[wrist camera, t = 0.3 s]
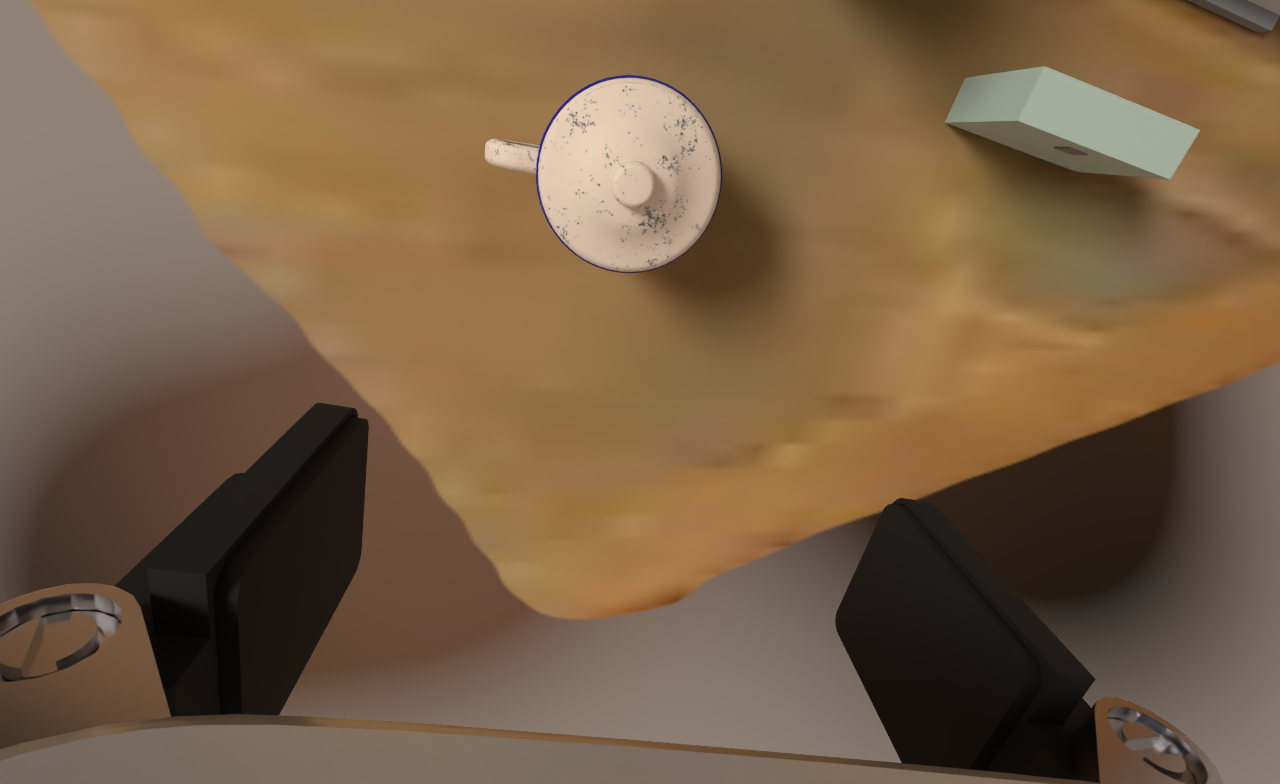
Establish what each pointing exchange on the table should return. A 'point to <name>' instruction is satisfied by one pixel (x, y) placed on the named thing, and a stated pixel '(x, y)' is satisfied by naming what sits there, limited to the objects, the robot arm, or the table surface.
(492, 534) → the table surface
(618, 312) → the table surface
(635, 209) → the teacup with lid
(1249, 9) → the grey rectangular frame
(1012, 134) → the pale green angular block
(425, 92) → the table surface
